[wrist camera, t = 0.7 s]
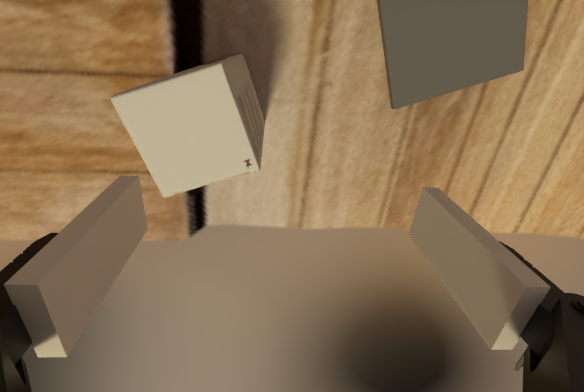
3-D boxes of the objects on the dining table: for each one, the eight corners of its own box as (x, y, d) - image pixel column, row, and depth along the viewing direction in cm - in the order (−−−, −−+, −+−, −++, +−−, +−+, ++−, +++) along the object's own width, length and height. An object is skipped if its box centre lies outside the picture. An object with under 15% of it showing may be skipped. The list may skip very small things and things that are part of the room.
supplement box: (243, 51, 37) (226, 57, 22) (267, 124, 41) (265, 171, 26) (169, 74, 37) (103, 96, 22) (200, 143, 42) (161, 201, 27)
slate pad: (371, -44, 33) (374, -46, 33) (527, -96, 32) (534, -100, 31) (391, 107, 41) (393, 109, 40) (517, 69, 40) (523, 70, 39)
